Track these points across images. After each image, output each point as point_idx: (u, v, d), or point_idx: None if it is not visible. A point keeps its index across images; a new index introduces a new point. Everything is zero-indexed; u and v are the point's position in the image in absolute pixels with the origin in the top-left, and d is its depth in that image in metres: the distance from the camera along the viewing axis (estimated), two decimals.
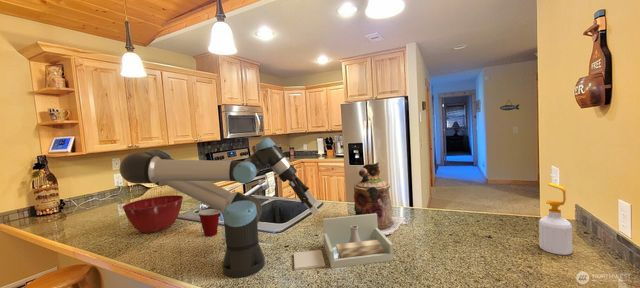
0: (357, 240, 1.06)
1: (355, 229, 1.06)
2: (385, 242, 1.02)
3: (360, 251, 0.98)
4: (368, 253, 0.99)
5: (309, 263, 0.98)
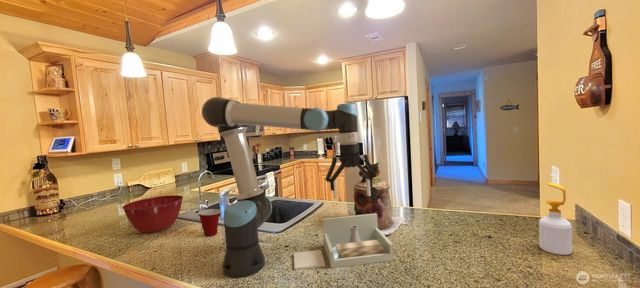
0: (357, 240, 1.06)
1: (355, 229, 1.06)
2: (385, 242, 1.02)
3: (361, 251, 0.98)
4: (368, 253, 0.99)
5: (309, 263, 0.98)
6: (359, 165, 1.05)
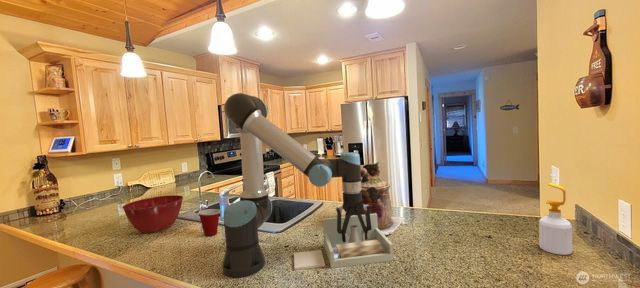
0: (357, 240, 1.06)
1: (355, 229, 1.06)
2: (385, 242, 1.02)
3: (361, 251, 0.98)
4: (368, 253, 0.99)
5: (309, 263, 0.98)
6: (359, 215, 1.05)
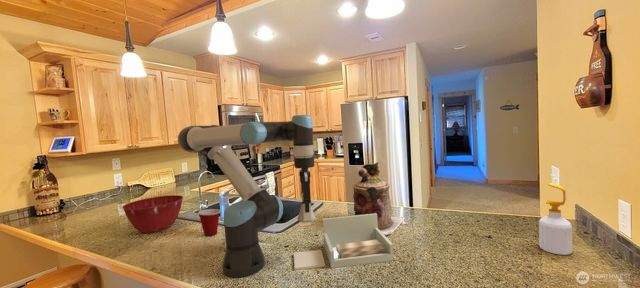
0: None
1: None
2: (385, 242, 1.02)
3: (361, 251, 0.98)
4: (368, 253, 0.99)
5: (309, 263, 0.98)
6: None
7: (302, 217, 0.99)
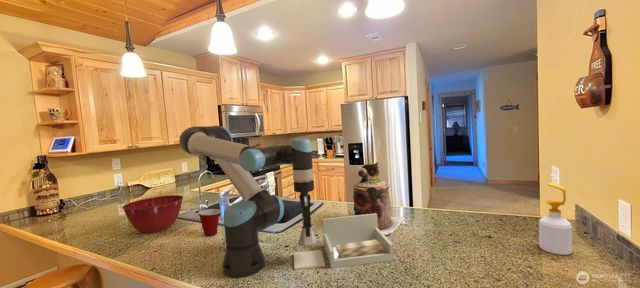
0: (311, 228, 1.02)
1: None
2: (385, 242, 1.02)
3: (361, 251, 0.98)
4: (368, 253, 0.99)
5: (309, 263, 0.98)
6: None
7: (303, 240, 0.99)
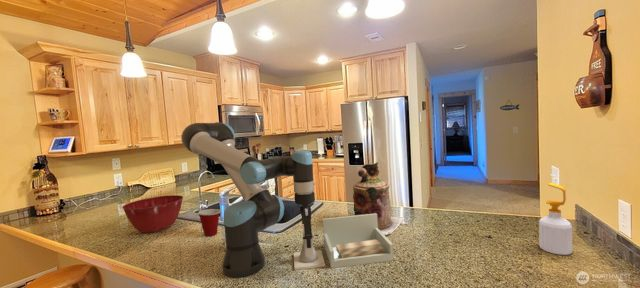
0: None
1: None
2: (385, 242, 1.02)
3: (361, 251, 0.98)
4: (368, 253, 0.99)
5: (309, 263, 0.98)
6: None
7: (304, 256, 1.00)
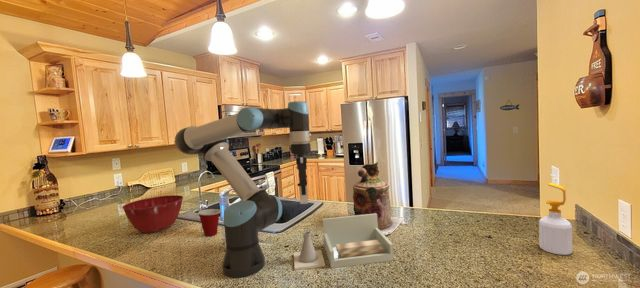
0: (312, 244, 1.03)
1: (310, 233, 1.02)
2: (385, 242, 1.02)
3: (360, 251, 0.99)
4: (368, 253, 0.99)
5: (309, 263, 0.98)
6: None
7: (304, 256, 1.00)
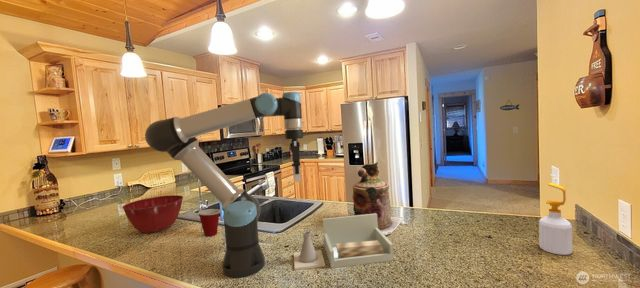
0: (312, 244, 1.03)
1: (310, 233, 1.02)
2: (385, 242, 1.02)
3: (360, 251, 0.99)
4: (368, 253, 0.99)
5: (309, 263, 0.98)
6: None
7: (304, 256, 1.00)
